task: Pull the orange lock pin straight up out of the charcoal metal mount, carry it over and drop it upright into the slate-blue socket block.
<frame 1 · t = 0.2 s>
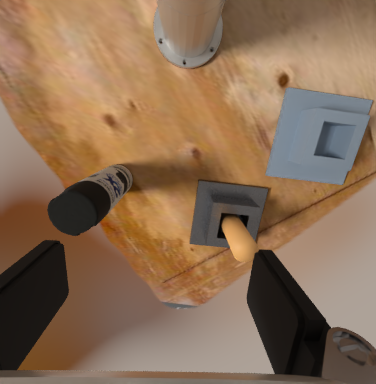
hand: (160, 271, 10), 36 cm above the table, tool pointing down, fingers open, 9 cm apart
socket block: (314, 139, 44), on the table
spray can: (118, 178, 46), on the table
lock pin: (227, 217, 48), point 1 cm above the table, touching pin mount
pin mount: (226, 215, 49), on the table
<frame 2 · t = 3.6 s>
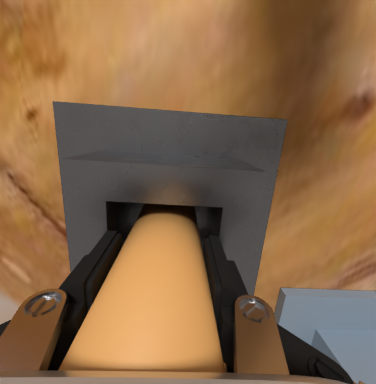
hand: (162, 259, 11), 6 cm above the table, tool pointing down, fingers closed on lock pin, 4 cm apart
socket block: (344, 358, 22), on the table
lock pin: (168, 218, 16), point 1 cm above the table, touching gripper, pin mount
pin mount: (169, 214, 17), on the table
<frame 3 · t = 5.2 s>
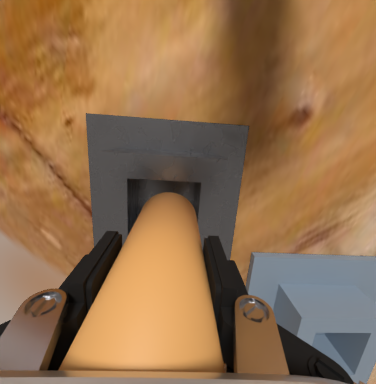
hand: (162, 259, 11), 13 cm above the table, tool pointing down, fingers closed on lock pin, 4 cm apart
socket block: (304, 310, 29), on the table
lock pin: (168, 218, 16), point 7 cm above the table, touching gripper
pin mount: (166, 194, 23), on the table
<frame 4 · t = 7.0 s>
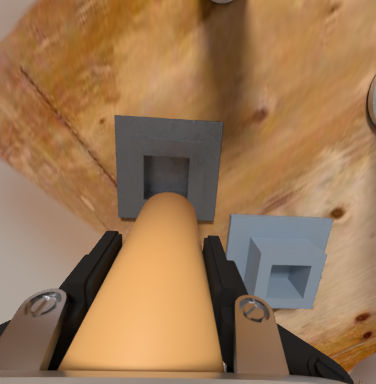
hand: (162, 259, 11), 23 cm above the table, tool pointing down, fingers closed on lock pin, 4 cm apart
socket block: (271, 260, 38), on the table
lock pin: (168, 218, 16), point 18 cm above the table, touching gripper
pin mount: (168, 171, 33), on the table
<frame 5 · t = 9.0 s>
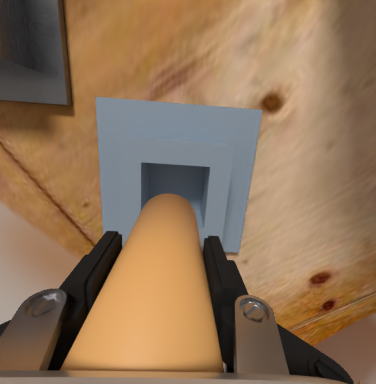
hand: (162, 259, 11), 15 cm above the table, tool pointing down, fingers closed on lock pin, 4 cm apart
socket block: (176, 182, 25), on the table
lock pin: (168, 220, 16), point 10 cm above the table, touching gripper
when the fingers open (8 cm above the table, at t = 10.7 s): lock pin drops 1 cm, resting on socket block.
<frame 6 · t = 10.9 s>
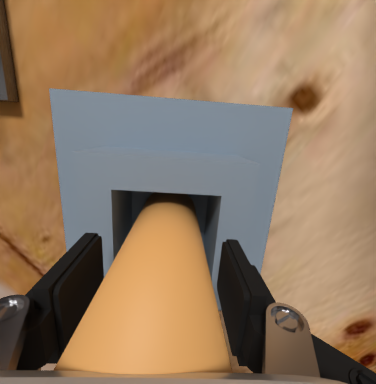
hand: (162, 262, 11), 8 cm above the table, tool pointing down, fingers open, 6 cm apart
socket block: (170, 208, 18), on the table
lock pin: (169, 212, 17), point 1 cm above the table, touching socket block
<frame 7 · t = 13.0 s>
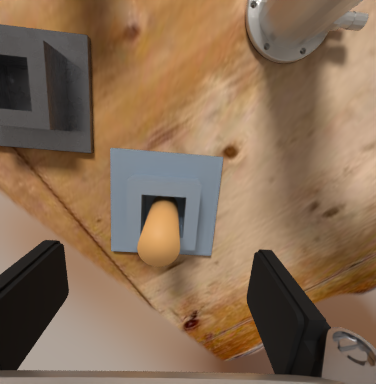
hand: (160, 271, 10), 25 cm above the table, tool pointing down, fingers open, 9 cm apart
socket block: (165, 204, 35), on the table
lock pin: (165, 206, 34), point 1 cm above the table, touching socket block
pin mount: (36, 93, 30), on the table
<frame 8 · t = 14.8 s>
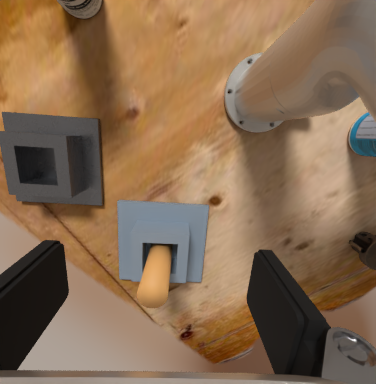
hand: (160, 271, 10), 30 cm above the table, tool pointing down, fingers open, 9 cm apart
socket block: (162, 242, 43), on the table
beverage bottle: (366, 133, 39), on the table
lock pin: (162, 244, 42), point 1 cm above the table, touching socket block
industrial component: (357, 239, 45), on the table
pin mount: (58, 161, 38), on the table
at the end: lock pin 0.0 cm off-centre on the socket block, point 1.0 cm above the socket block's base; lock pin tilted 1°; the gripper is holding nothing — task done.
